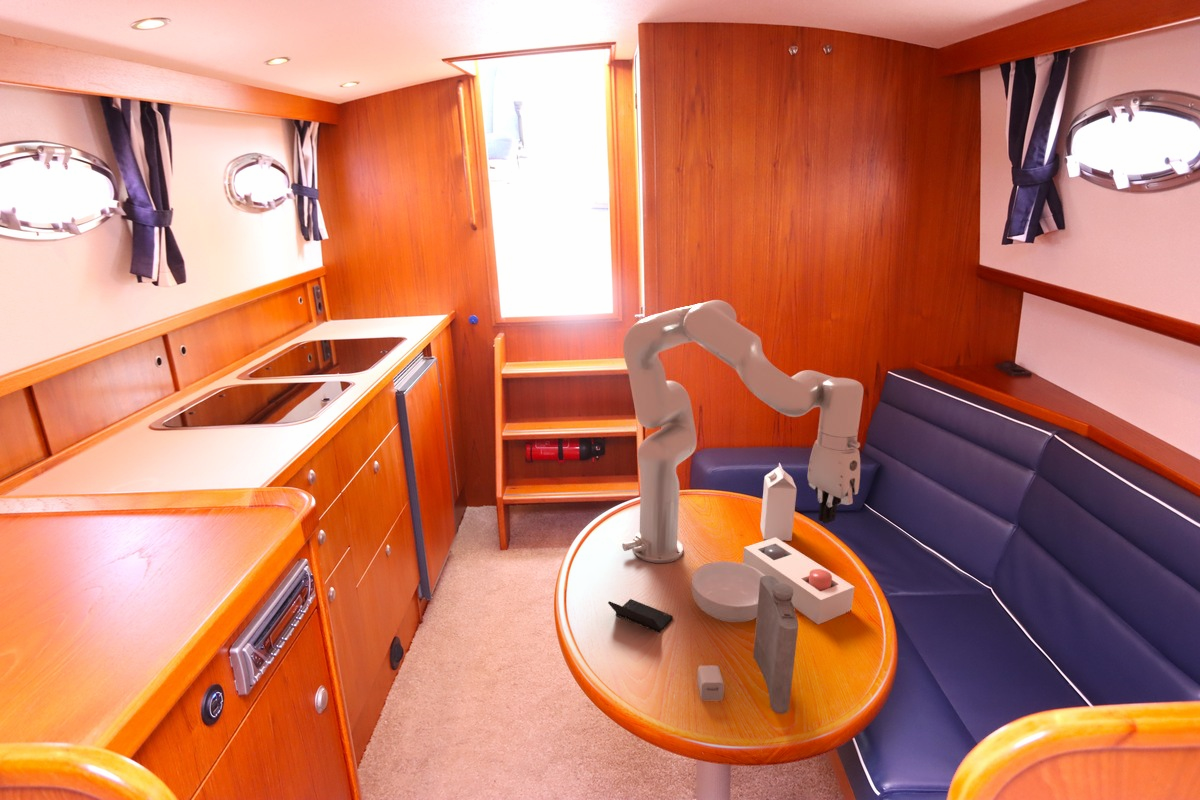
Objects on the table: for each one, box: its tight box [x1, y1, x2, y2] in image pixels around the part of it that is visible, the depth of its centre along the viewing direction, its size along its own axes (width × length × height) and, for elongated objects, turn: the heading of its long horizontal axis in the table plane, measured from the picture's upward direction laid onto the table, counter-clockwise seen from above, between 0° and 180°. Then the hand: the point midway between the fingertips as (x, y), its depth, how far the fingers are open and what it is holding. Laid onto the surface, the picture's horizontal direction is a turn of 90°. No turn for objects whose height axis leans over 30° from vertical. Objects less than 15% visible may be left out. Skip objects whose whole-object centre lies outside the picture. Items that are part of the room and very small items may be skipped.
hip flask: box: [752, 576, 799, 715], centre depth 119 cm, size 16×4×20 cm, turn 1°
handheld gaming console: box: [607, 598, 674, 634], centre depth 139 cm, size 12×7×10 cm
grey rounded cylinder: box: [764, 545, 785, 560], centre depth 155 cm, size 5×5×6 cm
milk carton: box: [759, 462, 797, 542], centre depth 172 cm, size 7×7×19 cm
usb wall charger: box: [696, 663, 725, 702], centre depth 120 cm, size 4×7×4 cm, turn 1°
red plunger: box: [808, 569, 832, 592], centre depth 143 cm, size 5×5×6 cm
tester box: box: [742, 537, 855, 625], centre depth 150 cm, size 10×24×6 cm, turn 29°
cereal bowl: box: [690, 560, 765, 623], centre depth 142 cm, size 17×17×7 cm
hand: (826, 520), depth 138 cm, fingers closed
